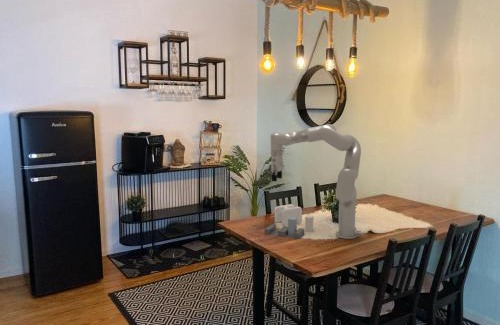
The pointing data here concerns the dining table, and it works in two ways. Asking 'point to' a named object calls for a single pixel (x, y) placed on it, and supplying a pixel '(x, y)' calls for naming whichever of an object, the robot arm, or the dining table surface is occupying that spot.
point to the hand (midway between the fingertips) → (276, 179)
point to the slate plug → (292, 226)
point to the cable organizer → (288, 214)
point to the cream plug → (309, 223)
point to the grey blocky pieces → (284, 232)
